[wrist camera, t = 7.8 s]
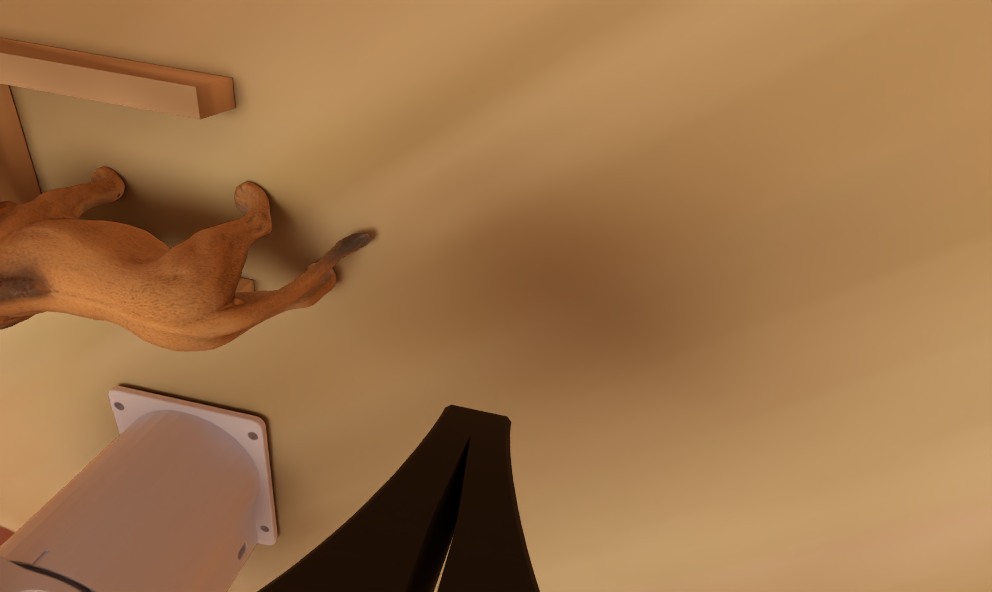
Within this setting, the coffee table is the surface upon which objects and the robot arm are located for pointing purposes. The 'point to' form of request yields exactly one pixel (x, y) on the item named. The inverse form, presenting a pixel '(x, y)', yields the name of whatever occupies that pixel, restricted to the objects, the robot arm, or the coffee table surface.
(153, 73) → the wooden frame
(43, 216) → the lion figurine
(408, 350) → the coffee table surface
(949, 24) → the coffee table surface
